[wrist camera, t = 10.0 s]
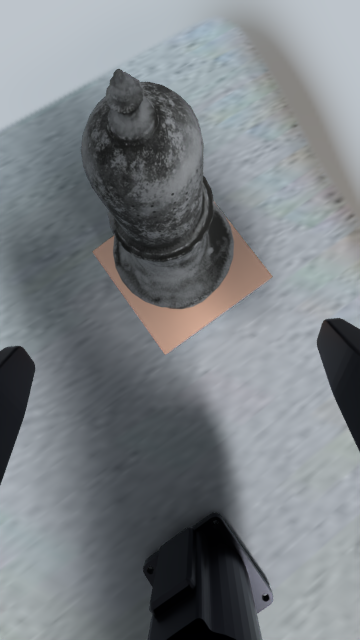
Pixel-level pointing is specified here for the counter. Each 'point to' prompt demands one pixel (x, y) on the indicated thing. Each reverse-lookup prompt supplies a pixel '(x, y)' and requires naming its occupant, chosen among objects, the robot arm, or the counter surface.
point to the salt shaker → (156, 193)
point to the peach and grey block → (185, 323)
